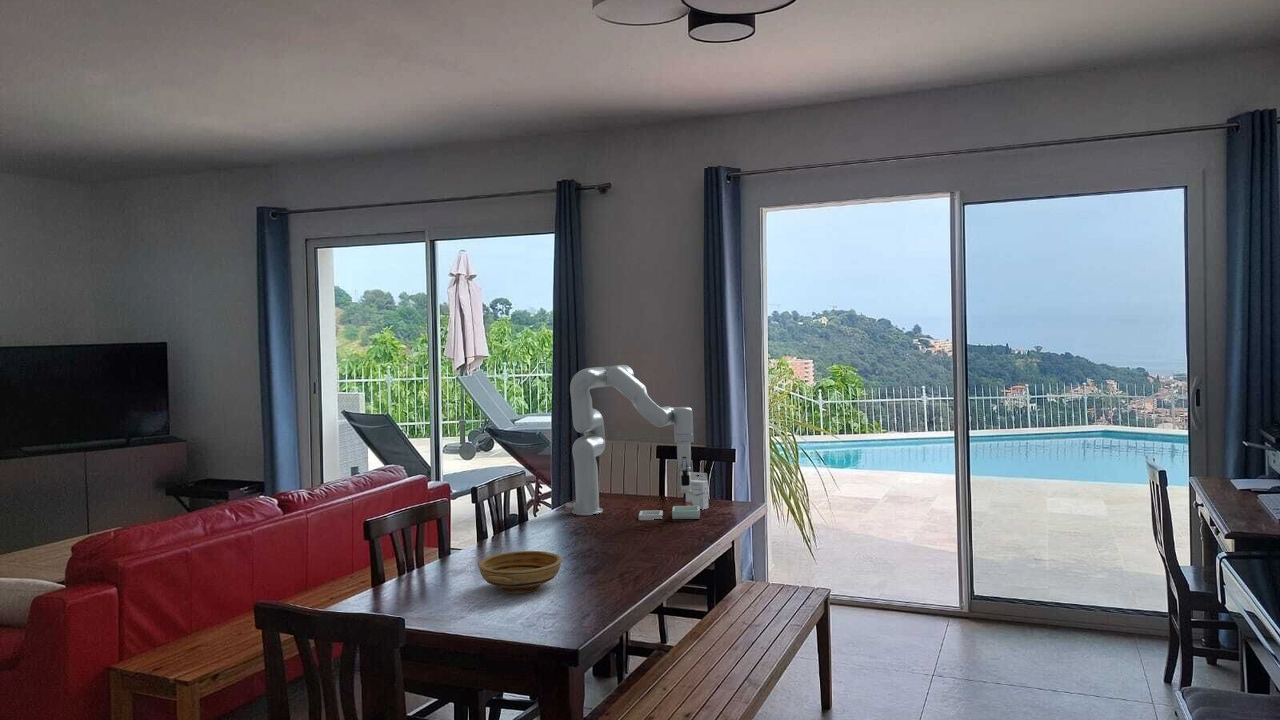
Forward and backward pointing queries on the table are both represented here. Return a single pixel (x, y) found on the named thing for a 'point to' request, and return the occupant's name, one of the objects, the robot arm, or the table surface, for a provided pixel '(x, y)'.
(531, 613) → the table surface
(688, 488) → the fuse
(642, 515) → the white square dish
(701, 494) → the ink cartridge box
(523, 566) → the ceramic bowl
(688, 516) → the tray
